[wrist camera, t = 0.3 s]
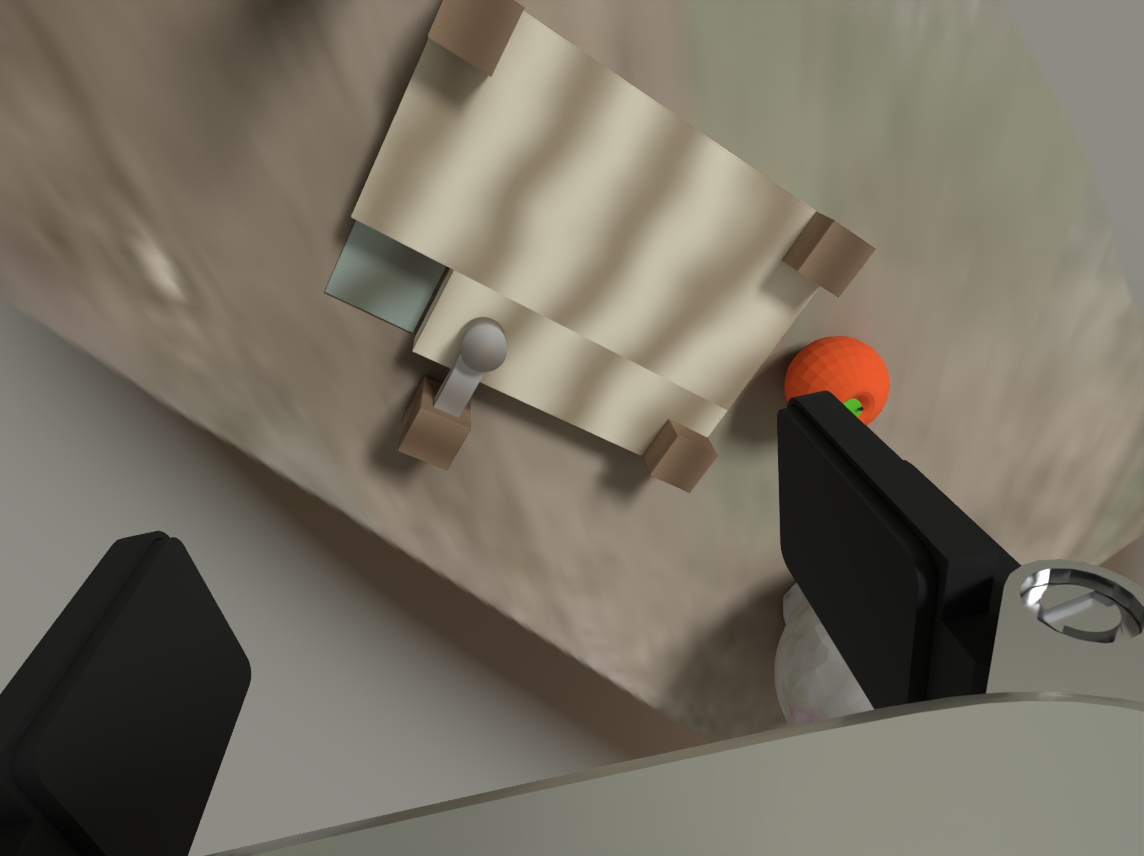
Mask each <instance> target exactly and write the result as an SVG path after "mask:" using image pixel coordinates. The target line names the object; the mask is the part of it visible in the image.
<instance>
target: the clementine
mask: <svg viewBox="0 0 1144 856" xmlns="http://www.w3.org/2000/svg"><path fill="white" fill-rule="evenodd" d="M889 389H890V385H889V375H888V371H887V368H886V366H885V363H884V361H883V360H882V359H881V358H880V356H879V355H878V354H877V353H876V352H875V351H874V350H873V348H872V347H870V346H868V345H866V344H865V343H863V342H861V341H859V340H857V339H854V338H849V337H844V336H837V337H825V338H822V339H819V340H816V341H814V342H812V343H811V344H809V345H807V346H805V347H804V348H803V349H802V350H801V351H800V352H799V353H798V354H797V355H796V356H795V357H794V359H793V360H792V362H791V363H790V365H789V367H788V370H787V372H786V376H785V383H784V390H785V397H786V401H787V403H788V401H789V399H790V398H792V397H796V396H801V395H806V394H811V393H815V392H820V391H827V390H828V391H829V392H831V393H832V394H833V395H834V396H835V397H836V398H837V399H838V400H840V401H841V402H842V403H843V404H844V405H845V406H846V407H847V408H848V409H849V410H850V411H851V412H852V413H853V414H854V415H855V416H857V417H858V418H859V419H860V420H861V421H862V422H863V423H864V424H865V425H866V426H867V425H868V424H870V423H871V422H872V421H873V420H874V419H875V418H876V417H877V416H878V415H879V413H880V412H881V411H882V409H883V407H884V405H885V403H886V400H887V398H888V393H889Z"/></svg>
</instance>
